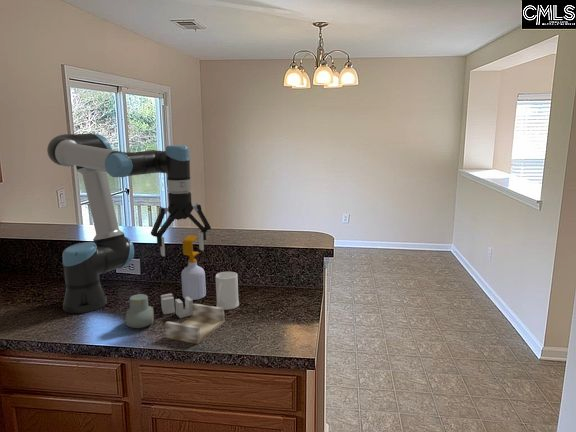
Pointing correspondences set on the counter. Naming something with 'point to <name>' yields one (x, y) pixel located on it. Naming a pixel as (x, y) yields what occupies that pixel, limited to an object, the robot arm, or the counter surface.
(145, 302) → the air freshener
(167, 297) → the clip
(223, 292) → the mug
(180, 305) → the clip
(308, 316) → the counter surface
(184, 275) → the white orange spray bottle
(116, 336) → the counter surface
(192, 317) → the end holder
